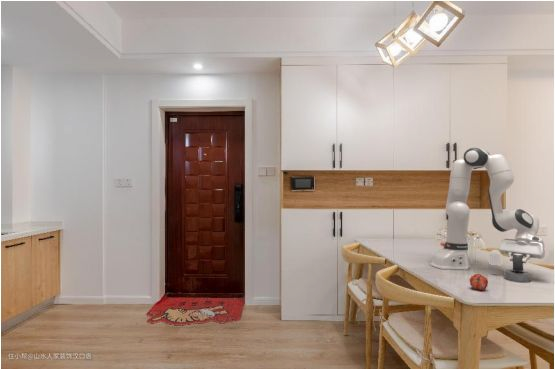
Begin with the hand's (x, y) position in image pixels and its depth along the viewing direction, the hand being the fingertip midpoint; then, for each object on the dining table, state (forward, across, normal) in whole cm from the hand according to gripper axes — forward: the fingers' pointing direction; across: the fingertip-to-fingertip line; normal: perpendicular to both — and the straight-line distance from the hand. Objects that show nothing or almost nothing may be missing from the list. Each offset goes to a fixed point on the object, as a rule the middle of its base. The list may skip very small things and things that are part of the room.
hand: (517, 261), depth 187 cm
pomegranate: (+31, -5, -17) cm, 36 cm away
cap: (+3, 0, +4) cm, 4 cm away
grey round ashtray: (+6, 0, +7) cm, 9 cm away
